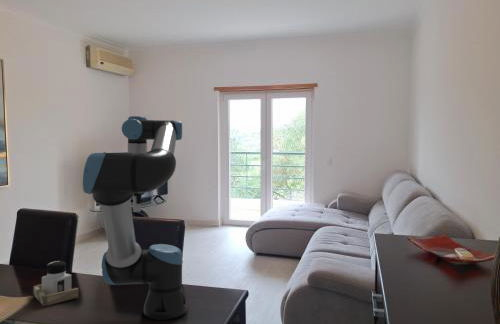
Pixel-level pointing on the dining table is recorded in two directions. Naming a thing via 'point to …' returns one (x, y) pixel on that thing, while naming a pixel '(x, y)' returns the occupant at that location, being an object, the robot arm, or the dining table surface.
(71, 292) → the corral
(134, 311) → the dining table surface
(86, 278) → the dining table surface
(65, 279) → the container
